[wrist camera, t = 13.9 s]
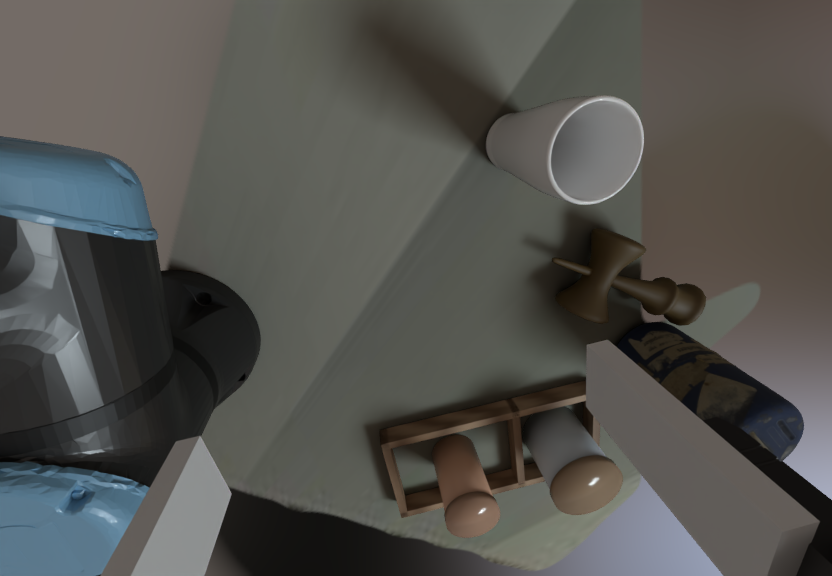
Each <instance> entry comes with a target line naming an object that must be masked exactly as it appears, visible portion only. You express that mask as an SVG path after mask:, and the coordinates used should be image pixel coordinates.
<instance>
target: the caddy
mask: <svg viewBox="0 0 832 576" xmlns="http://www.w3.org/2000/svg"><path fill="white" fill-rule="evenodd" d="M579 402H583V426H584V427H585V429H586V430H587V431H588V433H589V434H590V435H591V437H592V438H593V439H594V441H595V442H596V443H597V445H598V446H599V441H600V423H599V422H598V421H597V420H596V418H595V417H594V416H593V415H592V413H591V412H590V411H589V410H588V409H587V407H586V380H585V381H581V382H577V383H573V384H569V385H564V386H560V387H556V388H552V389H548V390H544V391H540V392H536V393H531V394H527V395H523V396H519V397H515V398H511V399H507V400H502V401H498V402H494V403H490V404H486V405H482V406H478V407H474V408H469V409H465V410H461V411H457V412H453V413H449V414H445V415H440V416H436V417H432V418H428V419H424V420H420V421H416V422H412V423H407V424H403V425H399V426H395V427H391V428H387V429H383V430H380V442H381V448H382V451H383V455H384V458H385V462H386V465H387V469H388V472H389V476H390V479H391V483H392V486H393V490H394V493H395V497H396V500H397V504H398V507H399V511H400V514H401V518H404V517H408V516H412V515H415V514H419V513H423V512H427V511H431V510H435V509H439V508H443V507H444V505H443V501H442V497H441V492H440V488H439V487H437V488H433V489H429V490H425V491H421V492H417V493H414V494H410V495H406V496H405V493H404V489H403V486H402V482H401V478H400V475H399V471H398V467H397V463H396V460H395V456H394V452H393V449H392V448H395V447H399V446H403V445H408V444H412V443H416V442H420V441H424V440H428V439H432V438H436V437H440V436H444V435H448V434H452V433H456V432H461V431H465V430H469V429H473V428H477V427H481V426H485V425H489V424H493V423H497V422H501V421H505V420H507V425H508V436H509V446H510V457H511V467H512V469H508V470H504V471H500V472H496V473H492V474H488V475H485V477H486V479H487V482H488V485H489V487H490V490H491V493H492V495H493V494H497V493H501V492H505V491H509V490H513V489H516V488H520V487H524V486H528V485H532V484H536V483H540V482H544V481H545V479H544V477H543V476H542V474H541V472H540V470H539V468H538V466H537V464H536V463H532V464H528V465H524V462H523V449H522V436H521V423H520V417H522V416H526V415H530V414H534V413H538V412H542V411H546V410H550V409H554V408H558V407H562V406H566V405H571V404H575V403H579Z"/></svg>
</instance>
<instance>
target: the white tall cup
mask: <svg viewBox="0 0 832 576" xmlns="http://www.w3.org/2000/svg"><path fill="white" fill-rule="evenodd" d="M643 146H644V133H643V127H642V123H641V121H640V118H639V116H638V114H637V113H636V111H635V110H634V109H633V108H632V107H631V106H630V105H629V104H628V103H627V102H625V101H624V100H622V99H619V98H617V97H613V96H581V97H572V98H566V99H562V100H557V101H554V102H550V103H547V104H544V105H541V106H537V107H534V108H531V109H527V110H524V111H521V112H515V113H509V114H506V115H504V116H502V117H500V118H499V119H498V120H497V121H496V122H495V123H494V124H493V125H492V127H491V128H490V130H489V132H488V135H487V139H486V151H487V154H488V157H489V159H490V161H491V162H492V163H493V164H494V165H495V166H496V167H498V168H499V169H501V170H504V171H507V172H508V173H510V174H512V175H514V176H515V177H517V178H519V179H520V180H522V181H523V182H525V183H527V184H528V185H530V186H531V187H533V188H535V189H537V190H538V191H540V192H542V193H545V194H547V195H549V196H552V197H554V198H557V199H561V200H564V201H567V202H572V203H575V204H581V205H589V204H595V203H599V202H602V201H604V200H606V199H608V198H610V197H612V196H613V195H615V194H616V193H617V192H619V191H620V190H621V189H622V188H623V187H624V186H625V185H626V184H627V183H628V181H629V180H630V179H631V177H632V176H633V174H634V173H635V171H636V169H637V167H638V165H639V162H640V159H641V156H642V152H643Z"/></svg>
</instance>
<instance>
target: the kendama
mask: <svg viewBox="0 0 832 576" xmlns="http://www.w3.org/2000/svg"><path fill="white" fill-rule="evenodd" d="M645 251H646V248H645V247H644V246H643V245H641V244H640V243H638V242H636V241H634V240H632V239H630V238H627V237H625V236H623V235H620V234H617V233H614V232H611V231H608V230H604V229H599V228H595V229H593V230H592V232H591V257H590V261H589V263H588V266H584V265H581V264H578V263H574V262H571V261H568V260H564V259H561V258H556V257H554V258H552V261H553V262H554V263H556V264H558V265H561V266H563V267H565V268H568V269H571V270H573V271H576V272H578V273H581V274H583V275H582V276H581V278H580V279H579V281H577V282H576V283H575V284H573V285H572V286H570V287H569V288H567V289H565V290H563V291H562V292H560V293H558V294H557V295H556V297H555V300H556V301H557V303H558V304H559V305H560V306H562V307H563V308H565V309H566V310H568V311H569V312H571V313H573V314H575V315H577V316H579V317H581V318H584V319H586V320H589V321H592V322H595V323H600V324H603V323H608V321H609V313H608V304H607V295H608V291H609V290H610V287H611V286H612V287H614V288H616V289H619V290H621V291H623V292H625V293H627V294H628V295H630V296H632V297H634V298H636V299H637V300H639V301H641V303H642V306H643V308H644V309H645V310H646V311H647V312H648V313H650V314H653V315H664V317H665V318H666V319H667V320H668V321H669V322H671V323H673V324H676V325H689V324H690V323H692V322H694V321H696V319H697V318H698V317H699V316H700V315H701V314H702V312H703V309H704V307H705V303H706V296H705V295H704V293H703V291H702V290H701V289H700V288H698V287H697V286H695V285H692V284H687V283H686V284H680V285H676V283H675V282H674V281H672V280H671V279H669V278H665V277H660V278H656V279H654V280H653V281H646V280H640V279H634V278H629V277H624V276H620V275H618V273H619V272H620V271H621V270H622V269H623V268H624V267H626V266H627V265H628V264H630V263H631V262H633V261H634V260H636V259H637V258H639V257H640V256H642V255H643V254H644V253H645Z"/></svg>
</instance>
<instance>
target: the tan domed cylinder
mask: <svg viewBox="0 0 832 576" xmlns="http://www.w3.org/2000/svg"><path fill="white" fill-rule="evenodd" d="M432 458H433V462H434V467H435V471H436V475H437V479H438V484H439V488H440V492H441V497H442V501H443V505H444V510H445V514H444V516H445V522H446V526H447V529H448V530H449V532H450V533H452V534H453V535H455V536H457V537H462V538H471V537H476V536H479V535H482V534H484V533H486V532H488V531H489V530H491V529H492V528H493V527H494V526H495V525H496V524H497V522H498V520H499V518H500V510H499V507H498V504H497V502H496V499H495V498H494V497H493V496H492V493H491V490H490V487H489V485H488V482H487V479H486V477H485V474H484V471H483V469H482V466H481V463H480V460H479V458H478V455H477V452H476V450H475V447H474V444H473V442H472V441H471V440H470V439H469V438H468V437H466V436H463V435H451V436H448V437H445V438H443V439H441V440H440V441H439V442H438V443H437V444H436V445H435V446H434V448H433V451H432Z"/></svg>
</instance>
